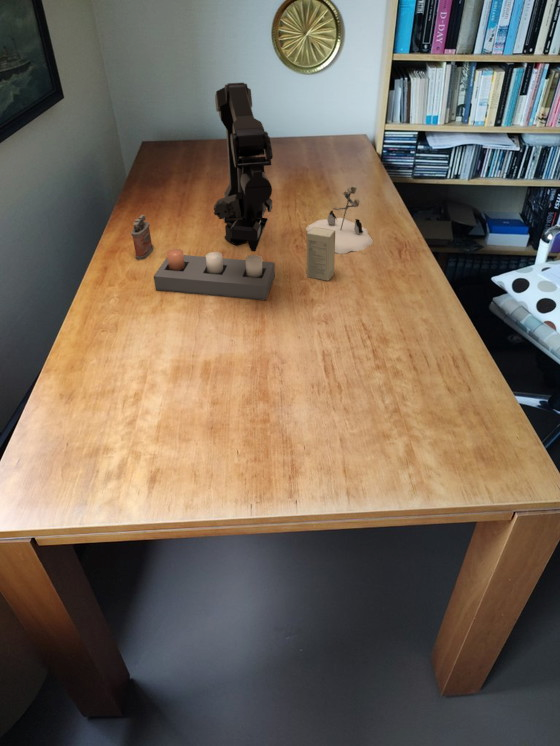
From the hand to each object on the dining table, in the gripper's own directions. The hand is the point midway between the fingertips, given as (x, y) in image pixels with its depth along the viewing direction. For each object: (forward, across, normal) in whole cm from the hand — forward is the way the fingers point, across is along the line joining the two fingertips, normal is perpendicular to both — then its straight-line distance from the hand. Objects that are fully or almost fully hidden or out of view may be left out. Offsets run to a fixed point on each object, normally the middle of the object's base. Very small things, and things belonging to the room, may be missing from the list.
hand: (253, 250), depth 132 cm
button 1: (+6, 0, -10) cm, 12 cm away
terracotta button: (+6, 0, -20) cm, 21 cm away
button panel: (+10, 0, -10) cm, 14 cm away
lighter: (+10, -13, -34) cm, 38 cm away
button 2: (+6, 0, 0) cm, 6 cm away
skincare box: (+10, -8, +16) cm, 20 cm away
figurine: (+10, -31, +18) cm, 37 cm away
